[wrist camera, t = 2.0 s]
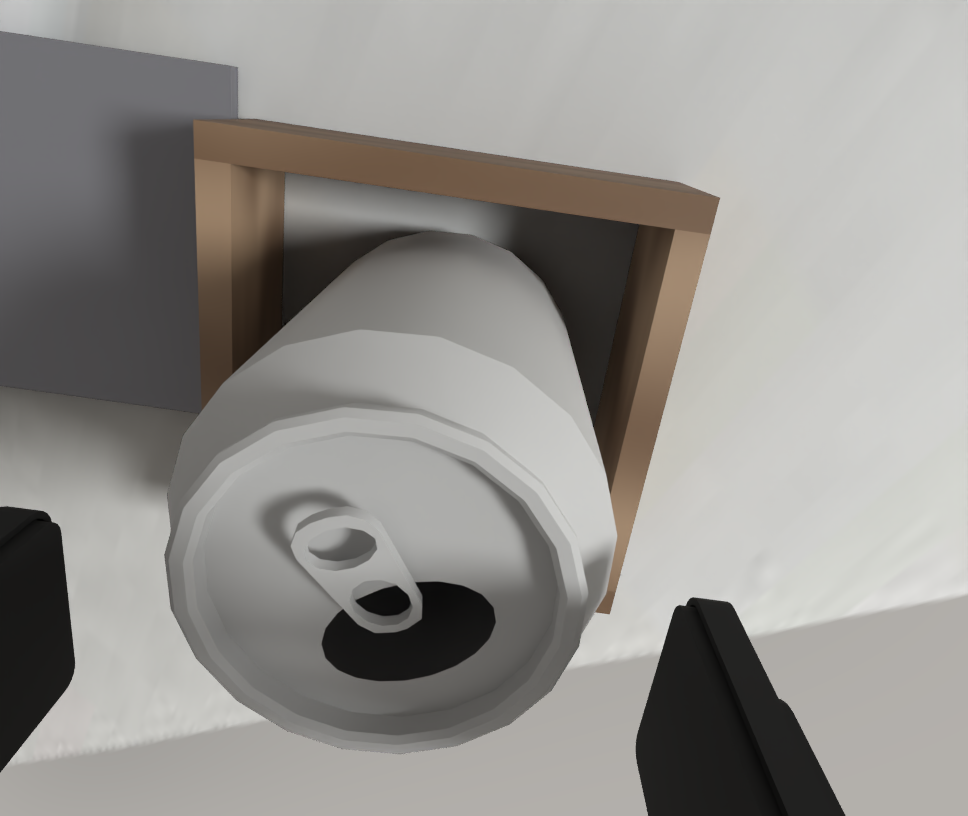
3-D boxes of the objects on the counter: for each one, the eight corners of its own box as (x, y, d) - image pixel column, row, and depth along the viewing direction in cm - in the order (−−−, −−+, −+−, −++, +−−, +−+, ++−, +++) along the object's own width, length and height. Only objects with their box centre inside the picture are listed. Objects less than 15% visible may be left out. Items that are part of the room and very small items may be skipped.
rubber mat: (-147, 9, 18) (-164, 6, 17) (237, 67, 18) (230, 66, 17) (-75, 368, 22) (-88, 373, 21) (239, 411, 22) (233, 418, 21)
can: (386, 489, 23) (271, 836, 12) (278, 282, 20) (0, 483, 9) (600, 415, 21) (696, 728, 10) (515, 183, 19) (524, 278, 8)
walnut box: (256, 119, 18) (193, 119, 15) (678, 181, 19) (719, 198, 15) (254, 488, 23) (206, 560, 19) (593, 535, 23) (609, 614, 20)
